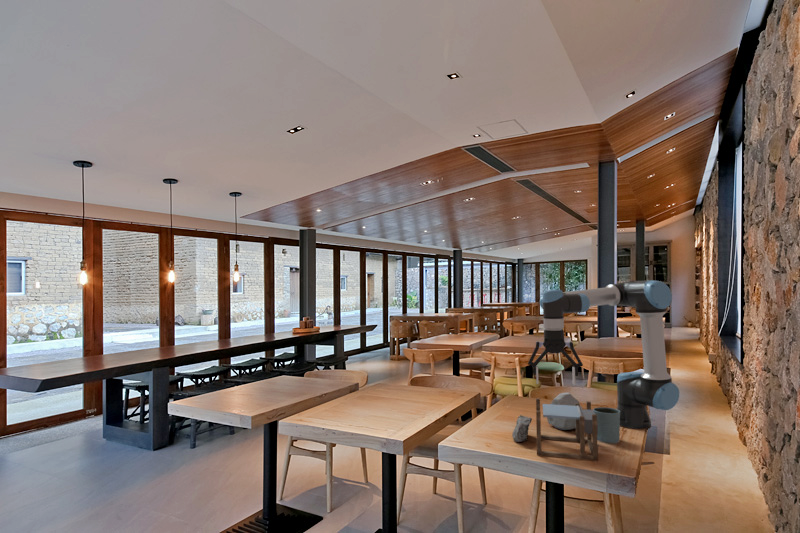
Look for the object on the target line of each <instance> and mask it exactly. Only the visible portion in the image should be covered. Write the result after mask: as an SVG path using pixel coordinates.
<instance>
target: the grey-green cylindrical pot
mask: <svg viewBox="0 0 800 533" xmlns="http://www.w3.org/2000/svg"><path fill="white" fill-rule="evenodd" d="M592 410H593V411H594V414H596V415H597V420H598V434H597V442H601V443H605V444H618V443H620V431H621V429H620V427H621V426H620V424H619V423H620V411H619V410H617V408H614V407H613V408H612V407H603V406H601V407H599V406H598V407H594V408H593V409H592Z"/></svg>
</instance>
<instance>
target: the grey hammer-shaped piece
mask: <svg viewBox="0 0 800 533" xmlns="http://www.w3.org/2000/svg"><path fill="white" fill-rule="evenodd" d="M592 414H594V411H593V409H591V410H587V408H586V409H585V408H584V409H583V408H582V409H580V407H579V406H578V405H577V406H569V405H553V404H551V403H542V415H543V416H542V417H543V418H547V417H550V418H565V419H579V420H580V416H584V423H585V434H587V433H589V434H591V435H592ZM597 434H598V420H597Z"/></svg>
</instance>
